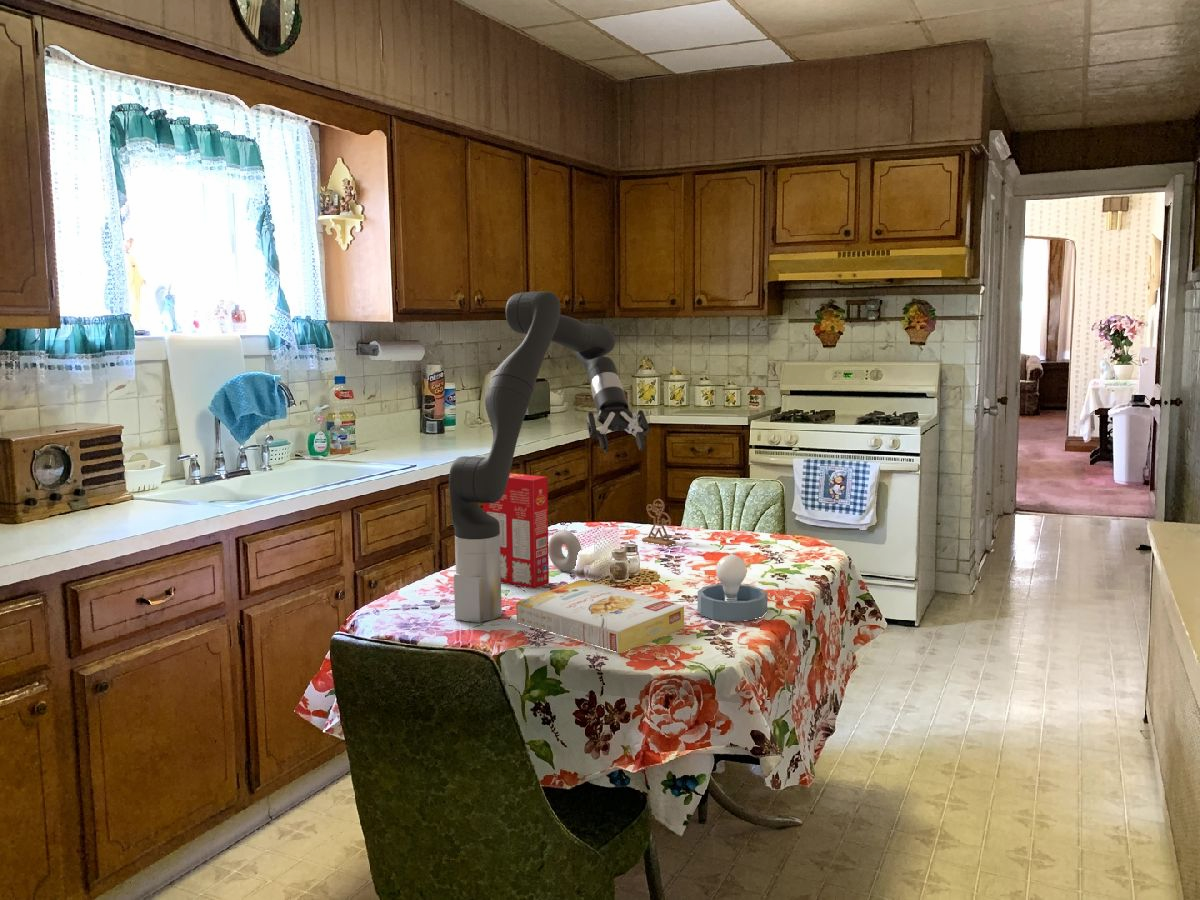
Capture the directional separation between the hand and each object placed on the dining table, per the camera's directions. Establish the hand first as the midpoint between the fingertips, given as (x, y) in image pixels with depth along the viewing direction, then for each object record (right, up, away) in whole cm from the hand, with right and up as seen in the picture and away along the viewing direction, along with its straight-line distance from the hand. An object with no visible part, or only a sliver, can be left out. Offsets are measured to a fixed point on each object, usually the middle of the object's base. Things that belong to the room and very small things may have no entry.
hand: (624, 449), depth 233 cm
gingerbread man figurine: (+10, -25, +39) cm, 48 cm away
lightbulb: (+22, -33, -22) cm, 45 cm away
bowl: (+22, -34, -22) cm, 46 cm away
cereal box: (-6, -36, -31) cm, 48 cm away
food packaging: (-25, -31, +2) cm, 40 cm away
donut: (-14, -30, +11) cm, 35 cm away
